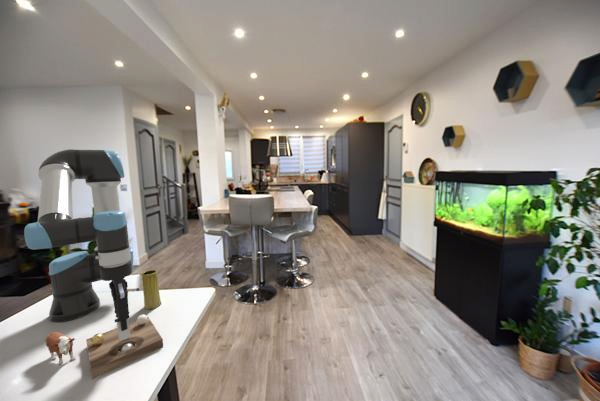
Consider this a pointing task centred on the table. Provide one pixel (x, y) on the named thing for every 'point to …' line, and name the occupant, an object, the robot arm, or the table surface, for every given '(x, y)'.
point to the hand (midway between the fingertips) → (124, 338)
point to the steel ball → (126, 347)
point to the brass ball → (97, 339)
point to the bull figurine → (59, 345)
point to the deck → (110, 349)
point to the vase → (151, 289)
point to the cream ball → (141, 319)
